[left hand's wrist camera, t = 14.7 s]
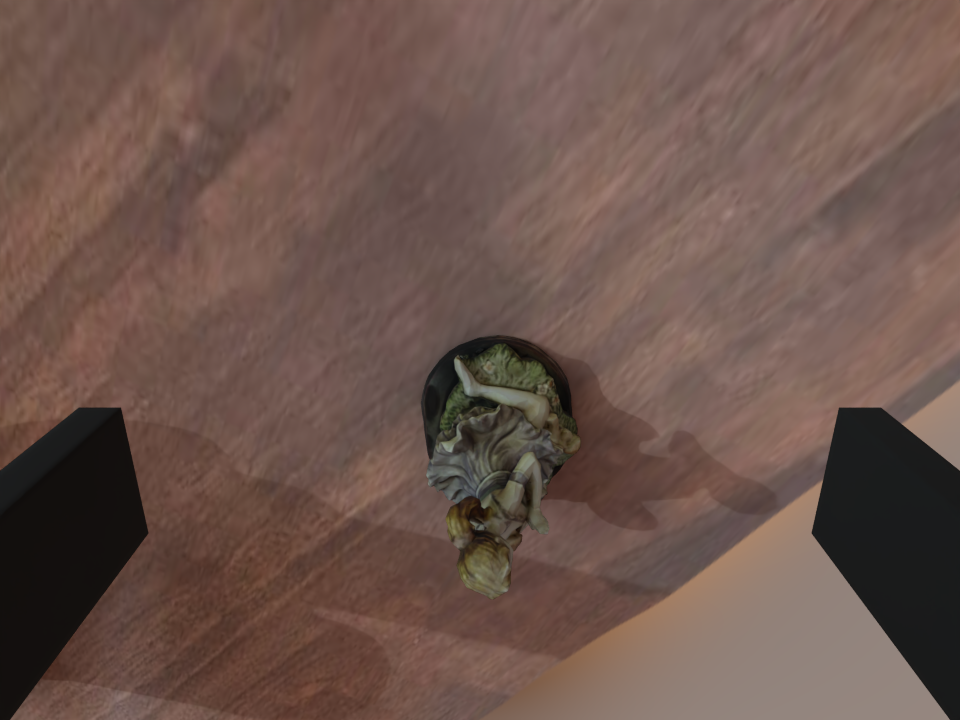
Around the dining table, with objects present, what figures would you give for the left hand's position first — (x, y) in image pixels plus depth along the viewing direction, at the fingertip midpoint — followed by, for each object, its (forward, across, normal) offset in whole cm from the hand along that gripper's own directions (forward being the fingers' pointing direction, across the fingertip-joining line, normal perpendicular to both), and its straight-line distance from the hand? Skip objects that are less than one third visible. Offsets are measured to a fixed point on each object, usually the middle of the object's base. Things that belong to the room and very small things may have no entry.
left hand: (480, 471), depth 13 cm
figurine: (+30, -1, +14) cm, 33 cm away
